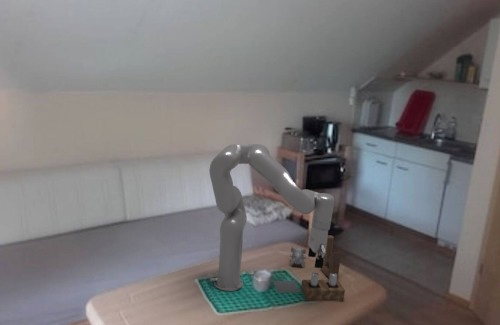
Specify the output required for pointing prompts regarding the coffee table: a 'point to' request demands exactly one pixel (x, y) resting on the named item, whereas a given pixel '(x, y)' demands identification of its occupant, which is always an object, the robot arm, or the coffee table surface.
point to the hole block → (322, 291)
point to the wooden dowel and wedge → (331, 259)
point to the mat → (286, 287)
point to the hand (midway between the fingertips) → (315, 261)
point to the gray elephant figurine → (297, 256)
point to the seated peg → (332, 280)
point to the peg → (314, 280)
